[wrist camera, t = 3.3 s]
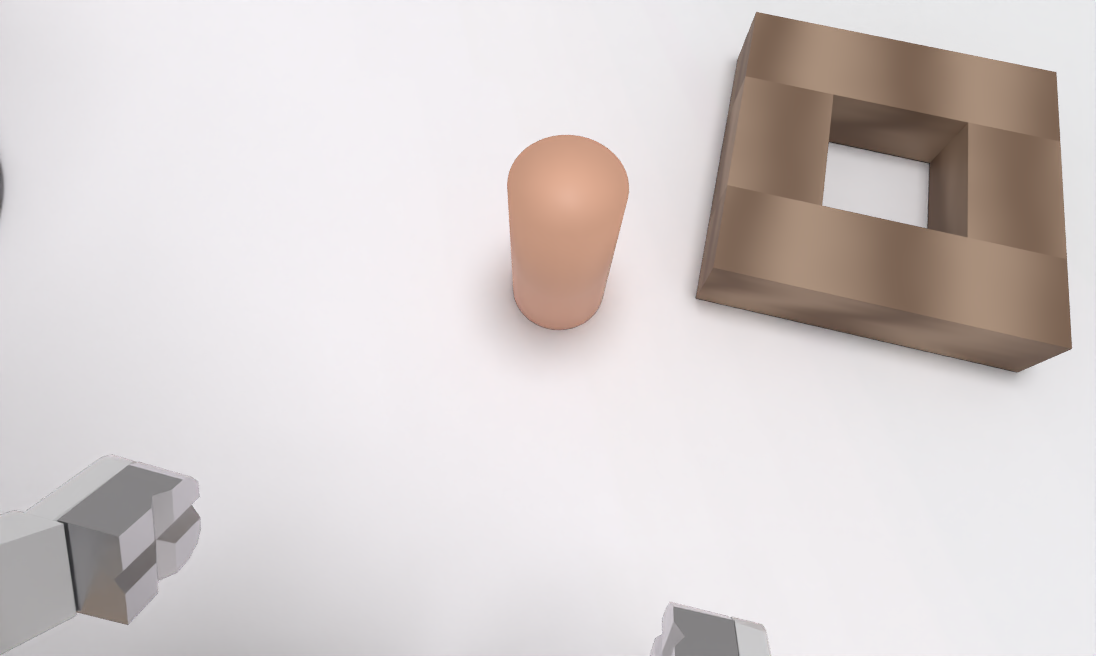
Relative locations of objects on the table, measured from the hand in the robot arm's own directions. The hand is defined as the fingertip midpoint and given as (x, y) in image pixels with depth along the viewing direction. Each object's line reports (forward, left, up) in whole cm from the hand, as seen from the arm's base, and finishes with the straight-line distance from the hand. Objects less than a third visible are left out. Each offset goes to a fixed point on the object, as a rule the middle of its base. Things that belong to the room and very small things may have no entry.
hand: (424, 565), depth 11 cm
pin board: (+13, +20, -15) cm, 28 cm away
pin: (0, +12, -15) cm, 19 cm away
